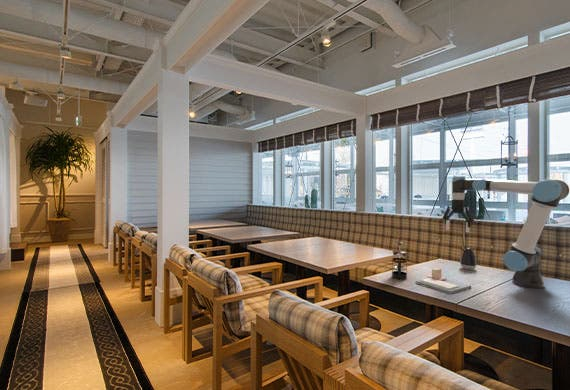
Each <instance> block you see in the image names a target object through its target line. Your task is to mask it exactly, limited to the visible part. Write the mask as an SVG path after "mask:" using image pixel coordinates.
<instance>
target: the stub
mask: <svg viewBox="0 0 570 390" xmlns="http://www.w3.org/2000/svg"><path fill="white" fill-rule="evenodd" d="M442 271H443V270H442V268H439V267H434V268H431V274H429V275H427V276H426V278H434V279H438V280H440V281H442V280H446V279H447V277H443V276H442Z"/></svg>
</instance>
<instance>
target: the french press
mask: <svg viewBox="0 0 570 390" xmlns="http://www.w3.org/2000/svg"><path fill="white" fill-rule="evenodd" d="M396 244H398V246H401V245H402V244H404V242H403V241H397V242H396ZM407 254H408V251H406V250H401V248H399V249H396V250H395V249H394V250H392V255H393V256H396V255H399V257H392V259H391V263H392V264H391V270H392V271H391V278H392V279H393V280H397V281H407V280H408V268H407V267H404V266H402V264H408V259H407V258H404V257H407ZM401 255H402V256H403V258H402V257H401ZM393 263H397V266H396V265H395V266H393Z"/></svg>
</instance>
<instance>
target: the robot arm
mask: <svg viewBox="0 0 570 390" xmlns="http://www.w3.org/2000/svg"><path fill="white" fill-rule="evenodd" d="M466 191H475V192H476V191H478V192H480V191H482V192H483V191H487V192H498V193H507V194H521V195H532V197H531V199H530V201H531V203H532V205H531V207H530V210H529V212H528V215H527V216H526V219H525V220H524V224H523V226H522V228H521V231H520V232H519V235H518V238H517V239H516V241H515V242H513V243H512V244H511V246H510V248H509V250H508V251H506V253H504V255H503V257H502V258H503V259H502V260H503V263H504V266H506V268H508V269H509V270H511V271H513V272H514V274H513V276H512V277H511V282H512V284H514V285H516V286H520V287H525V288H530V289H531V288H533V289H542V288H544V286H545V285H544V284H545V283H544V279H543V277H542V275H541V260H542V259H541V258H542V257H541V256H542V249H541V248H540V247H537V246H536V245H537V244H538V243H537V242H538V241H539V238H540V236H541V234H542V232H543V229H544V227H545V226H546V223H547V221H548V219H549V216H550V215H551V213H552V211H553V209H557V208H558V206H559V203H560V201H563V199H565V198H567V197H568V196H569V193H570V187H569V184H567V183H566V182H565V181H564V180H560V179H551V178H548V179H542V180H540V181H524V180H523V181H522V180H521V181H520V180H505V179H488V178H466V177H465V176H464V175H454V176H452V181H451V205H447V206H446V210H445V212H444V213H443V216H442V220H444V225H445V231H449V230H450V222H451V221H450V218H452V216H453V215H454V214H461V215H462V217H463V218H464V220H466V222H465V233H470V228H472V224H471V223H474V222H475V219H474V217H473V215H472V212H471V210H470V207H469V206H466V207H465V203H466V202H465V201H466V200H465V195H466V193H465V192H466Z"/></svg>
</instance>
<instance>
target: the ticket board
mask: <svg viewBox="0 0 570 390" xmlns="http://www.w3.org/2000/svg"><path fill="white" fill-rule="evenodd" d="M415 284H417V285H419V286H424V287H427V288H429V289H434V290H437V291H439V292H444V293H446V294H449V295H452V294H455V293H460V292H464V291H467V290H470V289H472V285H471V284H467V283H463V282H460V281H459V282H458V281H455V280H451V279H448V278H446V280H442V281H440V280H438V279H434V278H428V277H426V278H423V279H418V280H415Z"/></svg>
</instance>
